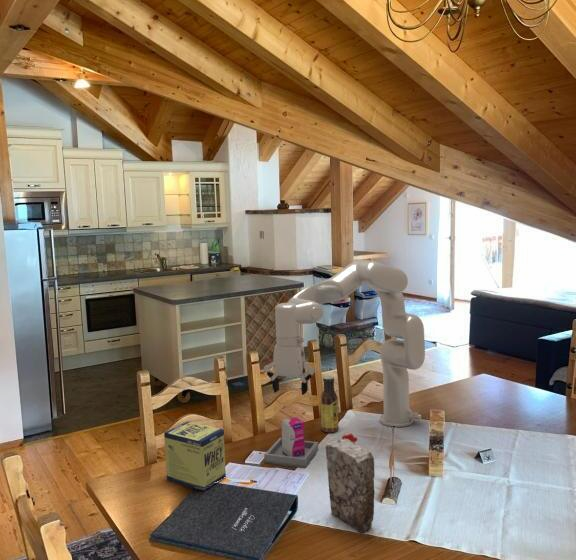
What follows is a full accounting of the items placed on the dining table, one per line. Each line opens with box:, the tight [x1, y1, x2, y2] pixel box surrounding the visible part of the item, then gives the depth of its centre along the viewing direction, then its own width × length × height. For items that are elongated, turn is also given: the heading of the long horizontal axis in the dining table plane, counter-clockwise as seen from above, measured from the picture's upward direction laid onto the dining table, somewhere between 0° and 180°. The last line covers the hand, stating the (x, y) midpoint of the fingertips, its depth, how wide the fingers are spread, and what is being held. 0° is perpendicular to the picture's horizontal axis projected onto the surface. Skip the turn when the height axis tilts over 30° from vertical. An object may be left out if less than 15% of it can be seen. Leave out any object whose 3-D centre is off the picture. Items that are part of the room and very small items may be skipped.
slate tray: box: [263, 437, 319, 469], centre depth 183 cm, size 14×14×3 cm
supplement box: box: [281, 416, 306, 457], centre depth 182 cm, size 6×6×12 cm
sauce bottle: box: [320, 375, 339, 433], centre depth 203 cm, size 6×6×20 cm
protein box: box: [163, 421, 227, 489], centre depth 169 cm, size 10×16×16 cm
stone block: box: [325, 439, 376, 534], centre depth 142 cm, size 13×7×20 cm, turn 39°
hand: (290, 392), depth 181 cm, fingers open, 9 cm apart
